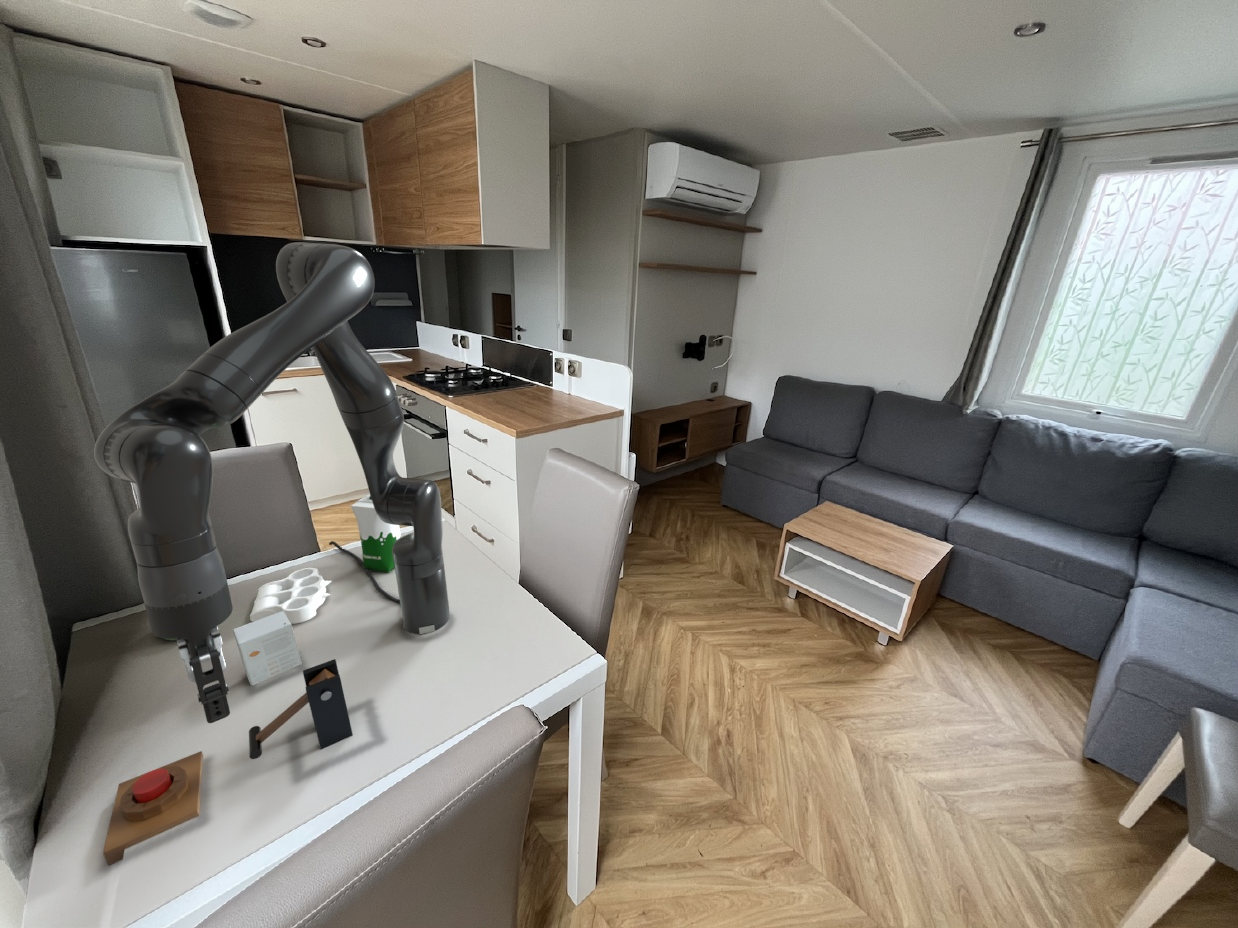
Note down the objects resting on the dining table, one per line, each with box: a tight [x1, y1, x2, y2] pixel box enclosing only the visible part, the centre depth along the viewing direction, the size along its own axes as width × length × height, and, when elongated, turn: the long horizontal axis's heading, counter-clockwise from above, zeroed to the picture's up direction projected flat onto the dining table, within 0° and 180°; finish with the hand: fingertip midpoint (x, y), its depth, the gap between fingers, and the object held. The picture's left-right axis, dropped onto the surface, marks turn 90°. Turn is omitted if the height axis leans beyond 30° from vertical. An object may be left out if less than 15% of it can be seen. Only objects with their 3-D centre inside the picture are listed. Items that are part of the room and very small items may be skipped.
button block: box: [102, 750, 204, 866], centre depth 67 cm, size 11×9×4 cm
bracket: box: [302, 658, 354, 750], centre depth 76 cm, size 11×9×13 cm
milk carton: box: [350, 493, 402, 573], centre depth 124 cm, size 9×9×20 cm
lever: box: [248, 669, 335, 760], centre depth 73 cm, size 13×5×2 cm
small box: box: [232, 611, 303, 687], centre depth 89 cm, size 8×6×10 cm
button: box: [132, 768, 172, 803], centre depth 66 cm, size 4×4×2 cm
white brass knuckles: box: [249, 567, 332, 625], centre depth 111 cm, size 3×18×15 cm
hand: (213, 699), depth 63 cm, fingers open, 8 cm apart
